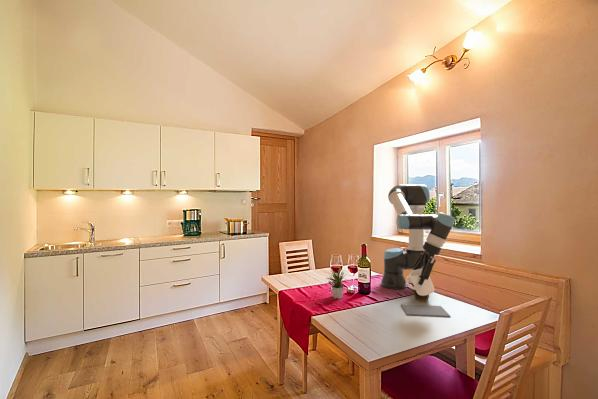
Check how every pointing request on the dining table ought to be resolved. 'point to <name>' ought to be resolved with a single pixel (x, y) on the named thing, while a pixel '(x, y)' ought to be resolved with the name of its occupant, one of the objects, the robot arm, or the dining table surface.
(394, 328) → the dining table surface
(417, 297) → the ceramic cup
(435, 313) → the mat
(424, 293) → the cup
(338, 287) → the house plant
